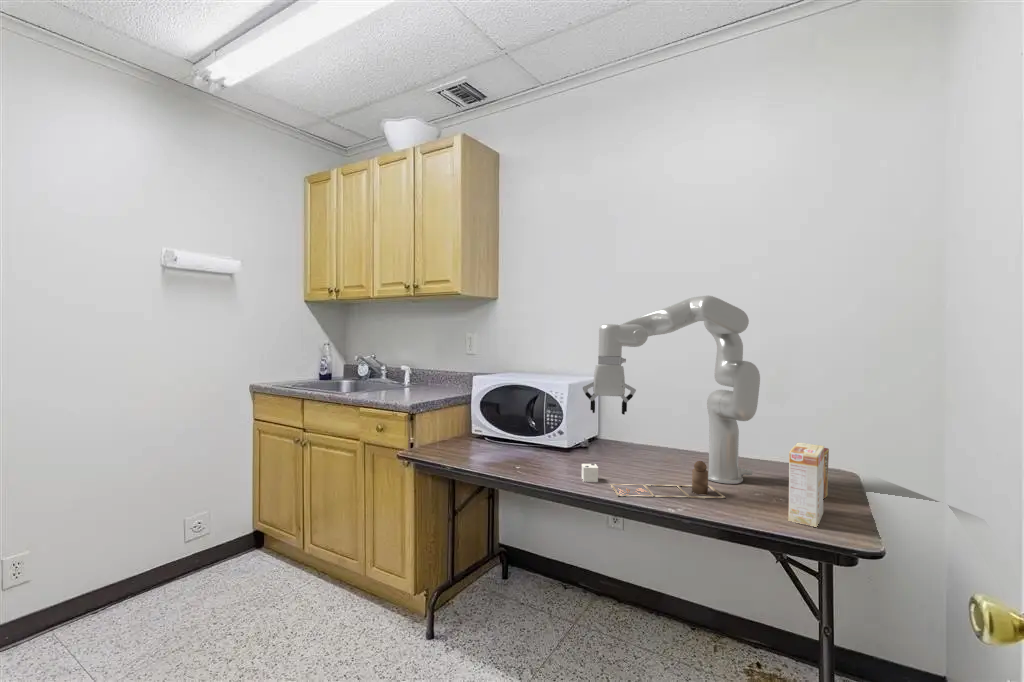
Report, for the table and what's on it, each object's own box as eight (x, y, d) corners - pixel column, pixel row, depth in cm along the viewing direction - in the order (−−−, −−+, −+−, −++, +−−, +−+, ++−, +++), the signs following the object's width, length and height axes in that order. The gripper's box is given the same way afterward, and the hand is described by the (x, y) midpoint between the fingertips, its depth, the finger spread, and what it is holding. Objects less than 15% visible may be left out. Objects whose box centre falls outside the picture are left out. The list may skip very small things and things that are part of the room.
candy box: (812, 492, 153) (813, 445, 153) (828, 495, 150) (829, 448, 150) (806, 499, 147) (807, 450, 146) (822, 502, 144) (823, 452, 144)
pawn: (704, 490, 154) (704, 459, 154) (710, 494, 149) (710, 463, 149) (689, 489, 154) (690, 458, 154) (695, 494, 150) (695, 462, 149)
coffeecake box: (795, 507, 140) (797, 441, 139) (824, 513, 135) (825, 445, 135) (786, 522, 128) (788, 450, 128) (817, 529, 124) (819, 455, 123)
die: (595, 478, 166) (595, 463, 166) (598, 482, 161) (598, 467, 161) (581, 477, 166) (581, 463, 166) (583, 482, 161) (583, 467, 161)
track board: (710, 486, 158) (710, 485, 158) (726, 498, 146) (726, 497, 146) (610, 485, 158) (610, 483, 158) (617, 496, 146) (617, 495, 146)
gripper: (635, 361, 157) (633, 412, 158) (583, 360, 160) (581, 410, 160) (637, 363, 150) (636, 416, 150) (583, 361, 153) (581, 413, 153)
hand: (608, 413), depth 155 cm, fingers open, 9 cm apart
